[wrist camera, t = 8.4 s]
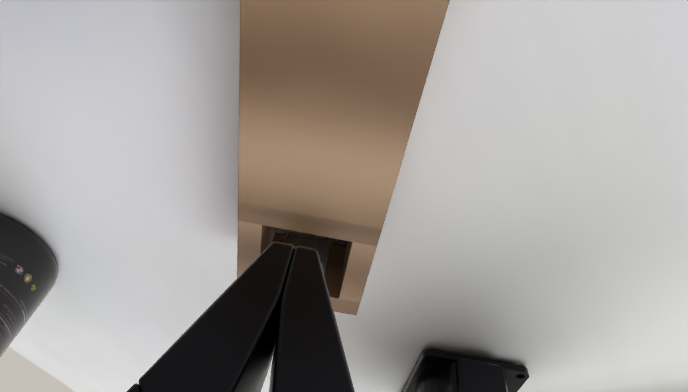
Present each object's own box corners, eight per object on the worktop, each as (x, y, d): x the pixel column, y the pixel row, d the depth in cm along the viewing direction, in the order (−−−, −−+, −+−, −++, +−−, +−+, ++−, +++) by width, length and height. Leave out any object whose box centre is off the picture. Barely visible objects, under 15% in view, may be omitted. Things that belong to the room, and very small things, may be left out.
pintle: (331, 232, 22) (314, 329, 17) (291, 225, 22) (264, 320, 17) (337, 201, 20) (321, 298, 16) (294, 193, 20) (266, 287, 16)
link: (277, -247, 11) (243, -271, 9) (489, -203, 11) (513, -215, 9) (254, 243, 23) (236, 293, 20) (361, 263, 23) (356, 315, 20)
